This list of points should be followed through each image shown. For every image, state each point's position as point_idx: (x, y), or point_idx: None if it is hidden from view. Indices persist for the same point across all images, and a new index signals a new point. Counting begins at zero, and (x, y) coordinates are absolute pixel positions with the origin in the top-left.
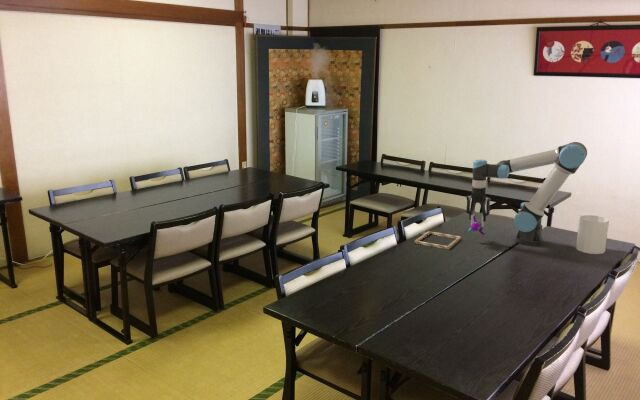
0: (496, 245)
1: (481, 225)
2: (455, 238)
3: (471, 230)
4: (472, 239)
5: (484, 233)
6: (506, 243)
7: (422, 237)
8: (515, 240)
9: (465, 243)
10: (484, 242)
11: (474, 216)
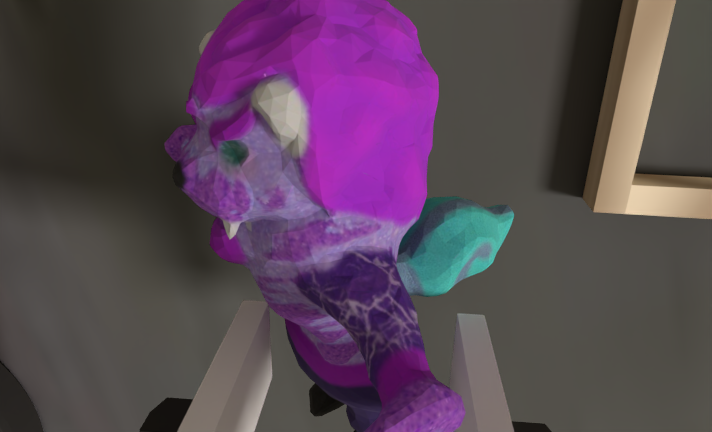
0: (104, 146)
1: (258, 320)
2: (665, 176)
3: (440, 198)
4: None
5: (179, 134)
6: (50, 271)
7: None
8: (4, 376)
9: (487, 21)
10: None
11: (393, 412)
